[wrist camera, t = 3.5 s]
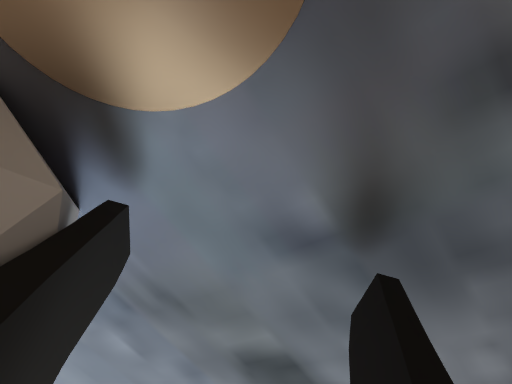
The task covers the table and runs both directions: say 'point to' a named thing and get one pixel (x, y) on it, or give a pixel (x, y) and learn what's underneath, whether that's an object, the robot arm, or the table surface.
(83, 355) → the table surface
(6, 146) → the die
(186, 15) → the coaster
